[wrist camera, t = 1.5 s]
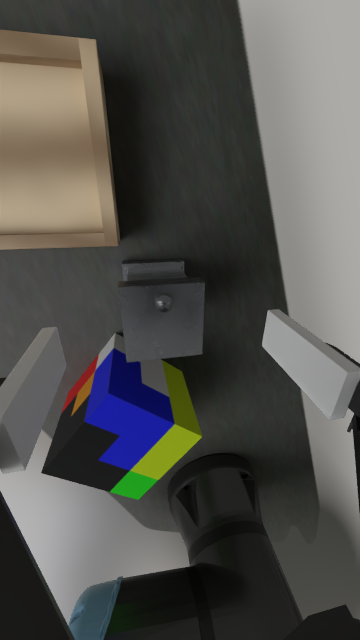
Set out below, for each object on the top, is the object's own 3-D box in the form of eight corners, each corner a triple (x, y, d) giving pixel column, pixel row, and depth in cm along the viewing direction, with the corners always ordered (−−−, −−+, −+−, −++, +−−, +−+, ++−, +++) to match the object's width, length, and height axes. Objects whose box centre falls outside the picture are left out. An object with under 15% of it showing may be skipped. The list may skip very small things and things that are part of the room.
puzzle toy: (115, 332, 27) (107, 393, 18) (182, 371, 31) (202, 436, 22) (68, 392, 29) (41, 472, 20) (136, 421, 33) (138, 499, 24)
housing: (181, 311, 28) (204, 358, 19) (128, 315, 27) (126, 367, 18) (181, 258, 25) (207, 284, 16) (122, 260, 24) (117, 290, 15)
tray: (120, 240, 23) (118, 245, 20) (-20, 243, 21) (-50, 250, 18) (102, 72, 18) (95, 39, 14) (-83, 57, 16) (-144, 14, 13)
